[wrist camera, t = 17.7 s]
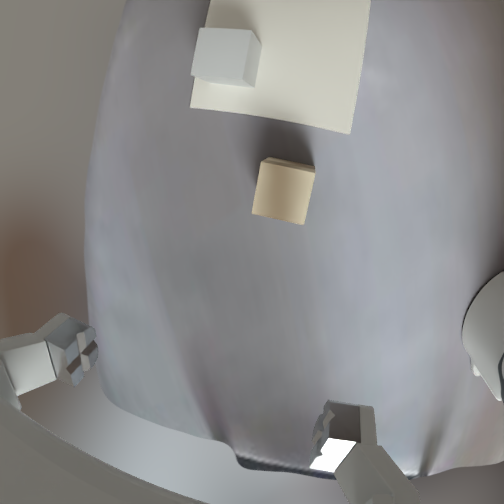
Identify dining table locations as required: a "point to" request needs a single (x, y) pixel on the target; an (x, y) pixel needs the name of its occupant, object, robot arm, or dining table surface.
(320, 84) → the cream flat sheet
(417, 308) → the dining table surface
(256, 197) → the birch block
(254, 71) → the grey block
